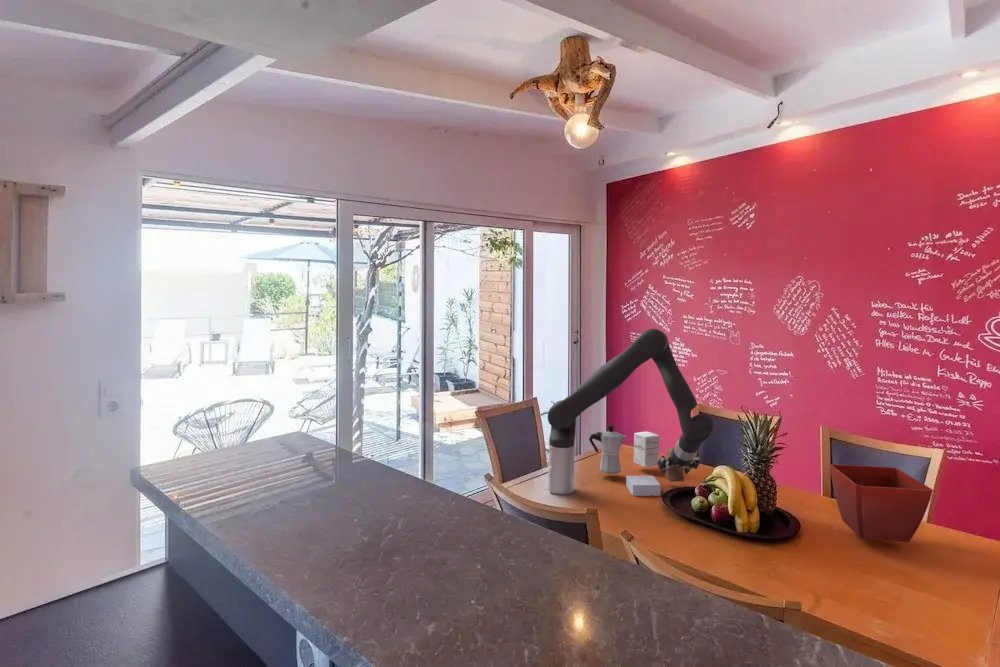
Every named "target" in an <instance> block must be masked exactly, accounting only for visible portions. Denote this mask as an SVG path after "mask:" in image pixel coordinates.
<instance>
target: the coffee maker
mask: <svg viewBox="0 0 1000 667" xmlns="http://www.w3.org/2000/svg"><path fill="white" fill-rule="evenodd" d="M614 427H615V426H614V425H613V424H612V425H611V424H610V425H609V424H608V425H607V431H602V432H600V431H597V432H596V433H592V434H590V436H589V438H588V441H589V442H590V444H591V446H592V447H593V449H594V450H595V452H596V453H598V452H599V449H598V447H597V445H596V444H595V443H594V441H593V440H596V441H598V442H600V447H601V451H602V453H601V459H600V464H599V470H600V472H601V473H605V474H613V475H616V474H619V473H622V466H621V460H620V454H619V452H620V451H621V447H622V446H621V445H622V444H623V443H624V442H625V441H624V440H625V439H626V438H627V437H628V436H627V435H623V434H622V433H619V432H618V431H617V432H616V431H614V429H615V428H614Z"/></svg>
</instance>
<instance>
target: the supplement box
mask: <svg viewBox="0 0 1000 667" xmlns="http://www.w3.org/2000/svg"><path fill="white" fill-rule="evenodd" d="M633 435H634V436H633V463H634V464H637V465H640V466H642V467H643V468H651V467H655V466H658V461H659V459H660V458H659V456H660V454H659V451H660V434H656V433H653V432H651V431H639V432H634V434H633Z"/></svg>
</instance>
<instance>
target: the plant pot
mask: <svg viewBox="0 0 1000 667" xmlns="http://www.w3.org/2000/svg"><path fill="white" fill-rule="evenodd" d="M829 468H830V476H831V482H832V487H833V493H834V496H835V502H836V504H837V507H838V511H839V514H840V517H841V519H842V522H843V523H845V524H846V525H847V526H848V528H849V529H850V530H852V532H853V533H854V534H856V535H857V536H858V537H859V539H864V540H874V541H884V542H885V541H886V542H898V543H899V542H901V543H909V542H911V540H912V539H913V537H914V536H915V534H916V532H917V530H918V528H919V527H920V524H921V523H922V521H923V519H924V516H925V514H926V512H927V510H928V506H929V504H930V501H931V499H932V494H933V490H934V489H933V488H931V487H930V486H927V484H924V483H922V482H921V481H920V480H918V479H916V478H914V477H913V476H911V475H909V474H908V473H906V472H905V471H903V470H901V469H899V467H891V466H890V467H889V466H871V465H854V464H853V465H852V464H835V463H833V464H830V467H829Z"/></svg>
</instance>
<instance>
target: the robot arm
mask: <svg viewBox="0 0 1000 667" xmlns="http://www.w3.org/2000/svg"><path fill="white" fill-rule="evenodd" d="M650 359H652V361H653V362H654V364H655V365H656V367H657V369H658V371H659V373H660V375H661V378H662V380H663V382H664V386H665V388H666V390H667V392H668V395H669V398H670V399H671V401H672V402H673V405H674V407H675V410H676V412H677V416H678V420H679V421H678V422H679V424H680V425H679V426H680V429H681V434H680V436H679V439H678V440H677V441H676V443H675V445H674V447H673V448H672V449H673V451H672V454H671V456H670V457H669V458H666V455H661V456H660V458H659V461H658V465H657V467H658V470H660V472H661V474H663V475H666V470H667V469H669V468H670V469H671V468H674V467H677V466H681V467H683V466H684V474H685V475H687V474H688V473H690V471H691V470H692V469H694V470H697V469H698V468H699V465H700V463H701V461H700V460H701V459H700V457H699V455H697V454H698V451H699V449H700V447H701V445H702V443H703V442H705V441H706V440H707V439H708V438H709V437H710V435H712V433H713V432H714V430H715V422H714V419H713V418H712V416H710V415H709V414H707V413H704V412H703V413H698V414H696V415H694V416H692V414H691V413H692V411H693V410H694V409H695V408H696V407H697V406H698V402H697V399H696V397H695V395H694V394H693V392H692V390H691V387H690V386H689V384H688V382H687V381H686V379H685V376H684V375H683V374H682V371H681V370H680V368H679V366H678V364H677V362H676V360H675V357H674V356H673V353H672V350H671V345H670V343H669V338H668V336H667V334H666V333H664V332H663V330H660V329H658V328H649V329H646V330H645V331H643V332H642V333H641V334H640V335H639V336H638V337H637V338H636V339H635V340H634V341H633V342H632V343H631V344H630V345H629V346H628V347H627V348H625V350H624V351H622V352H620V353H619V354H617V355H616V356H615V357H612V358H611V359H610V360H608V361H607V362H606V363H604V364H603V365H601V366H600V367H599V368H598V369H596V370H595V371H593V373H591V375H589V376H588V378H586V379H585V380H584V381H583V382H582V383H581V384H580V385H579V386H578V388H577V389H576V390H574V392H573V393H571V394H570V395H568V396H567V397H566V398H564V399H562V400H558V401H556V402H555V403H554V404H552V406H550V408H549V410H548V411H547V421H548V424H549V425H550V432H549V433H550V435H549V438H548V443H549V444H548V451H549V452H548V461H549V462H548V472H547V473H548V474H547V475H548V477H547V478H548V483H547V484H548V486H547V488H548V490H549V491H548V492H549V493H550V494H555V495H570V494H573V493H574V491H575V440H576V430H577V429H576V426H577V424H576V423H577V421H576V420H577V418H578V417H579V416H580V415H582V413H583V412H585V410H587V409H588V408H590V407H592V406H593V405H594V404H596V403H598V402H599V401H601V400H603V399H604V398H605V397H607V396H609V394H611V393H612V392H614V391H615V390H616V389H618V388H619V387H620V386H621V385H622V384H623V383H624V382H625V381H627V380H628V378H629V377H630V376H631V375H632V374H633V372H635V370H637V368H639V367H640V366H642V365H643V364H644V363H646V362H647V361H649V360H650ZM670 463H671V464H672V465H671V464H670ZM666 464H667V466H666Z"/></svg>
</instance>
